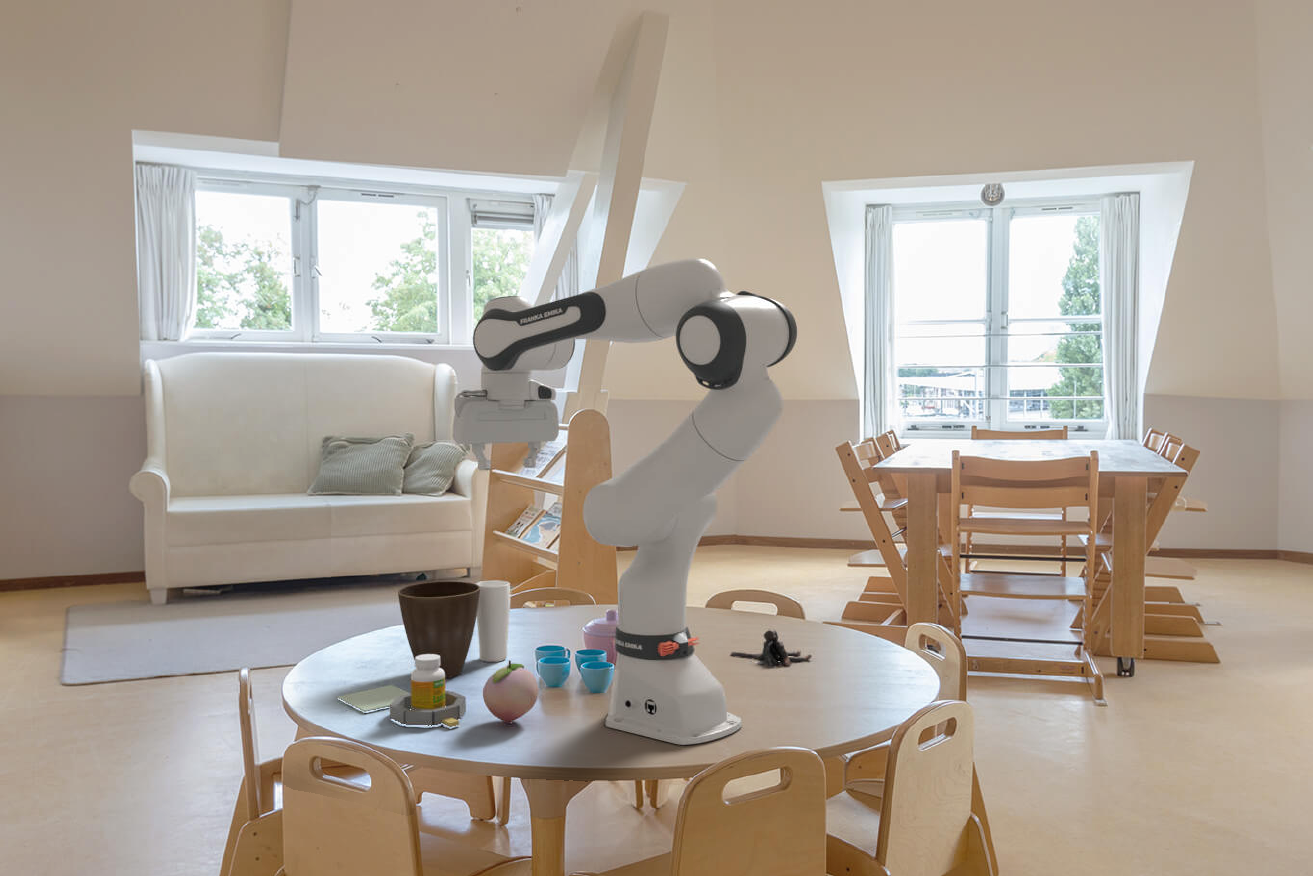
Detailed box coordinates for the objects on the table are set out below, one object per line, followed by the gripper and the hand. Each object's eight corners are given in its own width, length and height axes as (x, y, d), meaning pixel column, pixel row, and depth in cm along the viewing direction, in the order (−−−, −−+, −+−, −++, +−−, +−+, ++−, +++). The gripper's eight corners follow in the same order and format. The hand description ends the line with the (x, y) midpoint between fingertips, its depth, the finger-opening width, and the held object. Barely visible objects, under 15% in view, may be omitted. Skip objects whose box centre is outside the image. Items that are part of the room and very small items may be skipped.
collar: (485, 720, 158) (484, 704, 157) (422, 736, 150) (422, 720, 150) (433, 698, 169) (433, 683, 169) (373, 712, 161) (373, 697, 161)
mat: (419, 701, 167) (419, 697, 167) (364, 714, 161) (364, 710, 161) (391, 688, 175) (391, 685, 175) (337, 700, 168) (337, 696, 168)
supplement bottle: (437, 723, 156) (436, 662, 156) (405, 720, 157) (404, 660, 157) (450, 712, 162) (450, 653, 161) (420, 710, 163) (419, 651, 162)
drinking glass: (514, 655, 197) (513, 580, 196) (506, 664, 190) (505, 587, 190) (481, 654, 198) (480, 579, 197) (471, 663, 191) (470, 586, 190)
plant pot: (440, 690, 173) (439, 600, 173) (381, 677, 181) (380, 591, 181) (497, 670, 186) (497, 586, 185) (439, 659, 194) (439, 578, 193)
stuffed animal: (818, 661, 189) (767, 627, 187) (789, 703, 189) (739, 671, 187) (800, 644, 201) (753, 613, 199) (773, 685, 201) (725, 654, 199)
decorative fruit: (528, 734, 151) (528, 670, 150) (477, 731, 152) (476, 667, 152) (545, 715, 160) (545, 654, 160) (497, 712, 161) (496, 651, 161)
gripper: (464, 389, 164) (465, 472, 165) (563, 390, 178) (564, 467, 178) (445, 390, 169) (445, 471, 169) (543, 390, 183) (543, 465, 183)
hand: (507, 468), depth 174 cm, fingers open, 8 cm apart
